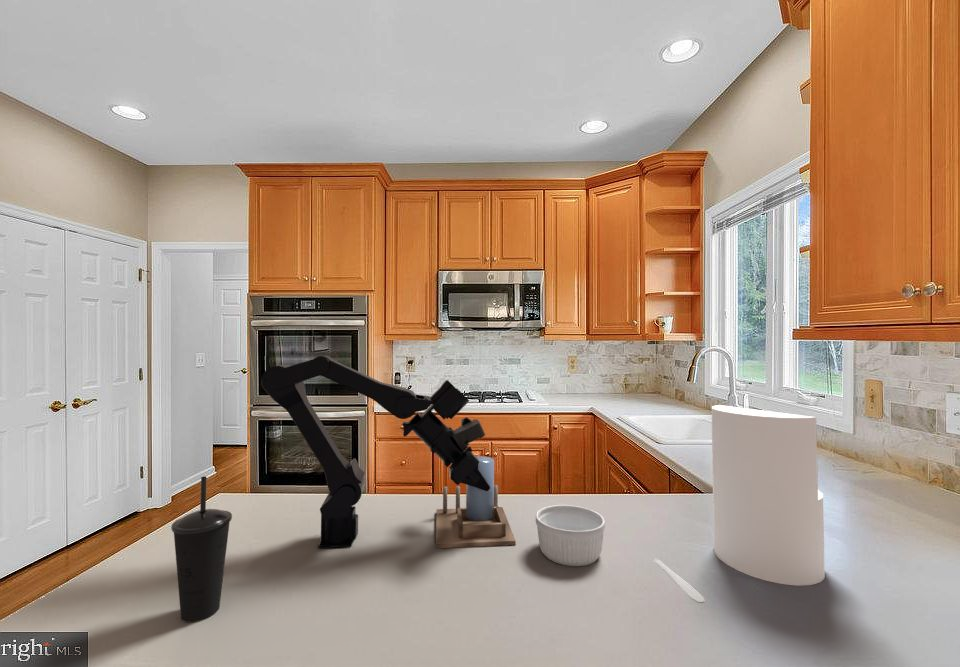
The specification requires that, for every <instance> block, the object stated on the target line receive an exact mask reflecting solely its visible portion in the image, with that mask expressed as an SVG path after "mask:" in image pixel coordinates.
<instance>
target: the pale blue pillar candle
mask: <svg viewBox="0 0 960 667" xmlns="http://www.w3.org/2000/svg"><path fill="white" fill-rule="evenodd" d="M475 456H476V455H475ZM476 457H477V458H478V460H479V464H478V470H479V471H480V473H481V474H482V476H483V477H484V479H485V480H486V481H487V483H488V484H489V486H490V489H489V490H488V491H484V490H481V489H479V488H476V487H473V486H470V485H466V484H465V485H466V486H465V487H466V488H465V489H466V490H465V491H466V492H465V493H466V494H465V498H466V499H465V508H466V517H467V518H468V519H470V520H473V521H487V520H490V519H492V518H493V517H494V485H495V459H494V458H493V457H489V456H483V455H482V456H481V455H478V456H476Z"/></svg>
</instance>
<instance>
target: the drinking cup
mask: <svg viewBox="0 0 960 667" xmlns="http://www.w3.org/2000/svg"><path fill="white" fill-rule="evenodd" d="M232 519H233V514H232V512H231V511H229V510H224V509H219V508H218V509H216V508H207V476H201V477H200V507H199V510H197V511H196V510H195V511H193V512H190V513H188V514H186V515H184V516H183V517H180V518H178V519H176V520H175V521H174V522H173V523H172V524H171V527H170V528H171V531H172V533H173V538H174V541H173V542H174V551H175V562H176V565H175V566H176V575H177V586H178V598H179V610H180V619H181V621H183V622H185V623H196V622H200V621H203V620H206V619H208V618H210V617H211V616H213V615H214V614H216V613H217V612H218V611H219V610H220V605H221V598H222V587H223V580H224V570H225V562H226V556H227V555H226V554H227V549H228V548H227V547H228V539H229V538H228V537H229V530H230V522H231V521H232Z"/></svg>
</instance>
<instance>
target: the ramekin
mask: <svg viewBox="0 0 960 667" xmlns="http://www.w3.org/2000/svg"><path fill="white" fill-rule="evenodd" d="M535 523H536V525H537V527H536V528H537V529H536V530H537V537H538V544H539V548H540V550H541V552H542V553H543V555H544V556H545V557H546V558H547V559H549V560H550V561H552V562H554V563H556V564H560V565H563V566H569V567H583V566H589V565H592V564H593V563H594V562H596V561H597V560H598V559H599V557H600V556H601V554H602V550H603V540H604V533H605V530H606V522H605V518H604V517H603V516H602V515H601V513H599V512H597V511H595V510H592V509H590V508H586V507H583V506H578V505H571V504H556V505H555V504H554V505H548V506H545V507H542V508H541V509H539V510H538V511H537V512H536V515H535Z"/></svg>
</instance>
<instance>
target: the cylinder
mask: <svg viewBox="0 0 960 667" xmlns="http://www.w3.org/2000/svg"><path fill="white" fill-rule="evenodd" d="M817 429H818V428H817V417H816V416H810V415H809V416H808V415H802V414H794V413H787V412H780V411H779V412H777V411H771V410H770V411H769V410H762V409H755V408H754V409H753V408H746V407H739V406H731V405H721V404H717V405H712V406H711V456H712V459H711V462H712V463H711V466H712V523H713V524H712V525H713V526H712V527H713V528H712V532H713V534H712V535H713V537H712V538H713V550H714V551H713V552H714V554H715V555H716V557H717V558H718V559H719V560H720V561H722V562H723V563H724V564H725V565H727V566H729V567H731V568H732V569H735V570H736V571H738V572H740V573H743V574H746V575H748V576H750V577H753V578H755V579H756V578H757V579H759V580H763V581H766V582H772V583H776V584H780V585H789V586H790V585H791V586H798V587H799V586H800V587H801V586H812V585H815V584H819V583H821V582H823V580H825V576H826V570H825V569H826V568H825V565H826V564H825V563H826V562H825V559H826V558H825V526H824V524H825V519H824V518H825V517H824V493H823V492H821V490H819V481H818V479H819V478H818V477H819V476H818V473H819V472H818V442H817V441H818V440H817V439H818V437H817V436H818V434H817Z"/></svg>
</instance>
